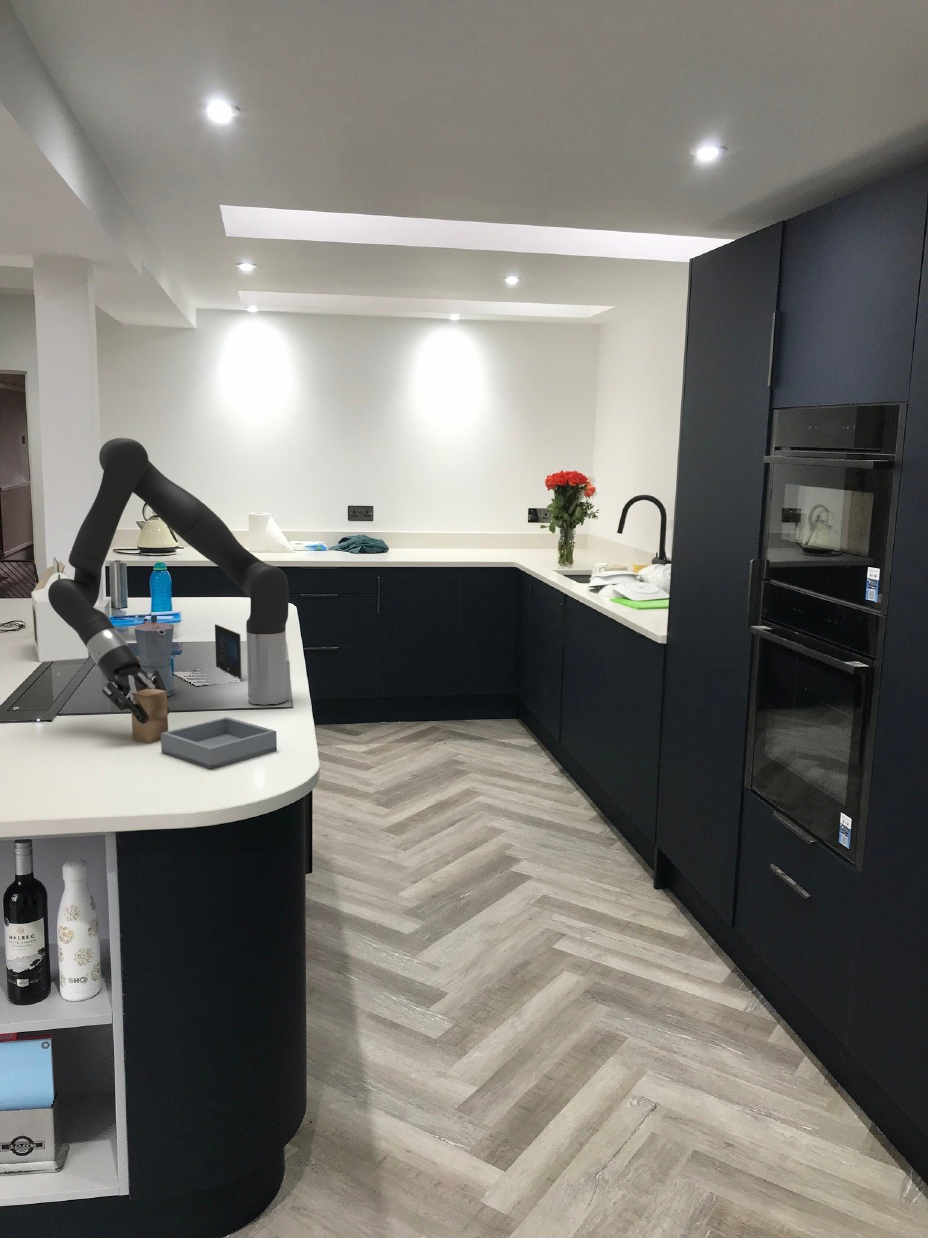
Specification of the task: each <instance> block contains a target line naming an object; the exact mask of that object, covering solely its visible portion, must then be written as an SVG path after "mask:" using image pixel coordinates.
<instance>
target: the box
mask: <svg viewBox="0 0 928 1238" xmlns="http://www.w3.org/2000/svg"><path fill="white" fill-rule="evenodd" d="M277 739H278V738H277V730H274V729H271V728H268V727H263V726H260V725H257V724H253V723H249V722H247V721H246V722H245V721H243V720H239V719H237V718H232V717H230V716H226V717H225V716H224V717H221V718H216V719H213V720H209V721H205V722H200V723H197V724H192V725H189V726H185V727H180V728H176V729H175V728H174V729H172V730H168V731H167V732H163V733H161V740H160V747H161V749H160V750H161V753H163V754H164V755H168V756H171V757H174V758H176V759H179V760H182V761H185V762H188V763H191V764H193V763H194V765H197V766H200V767H202V768H205V769H208V770H213V768H214V769H216V768H217V767H218V768H220V766H221V767H223V766H227V765H231V764H234V762H235V763H237V762H241V761H240V760H242V761H245V760H248V759H252V758H255V757H257V756H262V755H265V754H268V753H273V752H275V751H278V748H277V747H278V746H277V745H278V744H277V743H278V742H277ZM230 763H231V764H230Z"/></svg>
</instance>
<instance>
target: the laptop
mask: <svg viewBox="0 0 928 1238" xmlns="http://www.w3.org/2000/svg"><path fill="white" fill-rule="evenodd" d="M241 638H242V637H241V634H240V633H239V632H236V631H233V630H231V629H229V628H226V627H224V626H222V625H219V624H214V639H215V665H216V666H215V667H216V668H219V669H221V670H222V671H224V672H226V673H228V674H229V675H232V676H234V677H235V678H238V679H240V680H241V679H242V680H243V676H242V675H243V674H242V673H243V672H242V644H241V643H242V642H241V641H242V640H241ZM204 669H205V670H207V668H204ZM197 670H200V669H197ZM173 673H174V674H173V675H175V676H177V677H178V678H180V677H181V678H180V679H182V678H183V679H182V680H184V679H185V680H186V682H187V681H188V682H187V683H189V682H191V685H192V684H194V685H196V686H197V685H201V684H210V683H193V682H197V681H202V682H204V681H207V680H188V679H186V678H197V677H184V676H189V675H191V676H192V675H195V676H198V675H199V676H200V675H201V674H197V675H196V674H192V672H182V671H173ZM190 673H191V674H190ZM194 673H200V672H194ZM201 673H202V672H201ZM228 674H223V675H228ZM202 675H210V674H202ZM212 675H214V674H212ZM217 675H218V674H217ZM221 675H222V674H221ZM234 677H233V678H234ZM198 678H202V677H198ZM203 678H207V677H203ZM209 678H210V677H209ZM220 678H222V677H220ZM223 678H224V677H223ZM185 680H184V681H185ZM209 681H210V680H209ZM221 681H222V680H221ZM224 681H225V680H224ZM235 681H237V680H235ZM211 684H214V683H211ZM194 685H193V686H194ZM196 686H195V687H196Z"/></svg>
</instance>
